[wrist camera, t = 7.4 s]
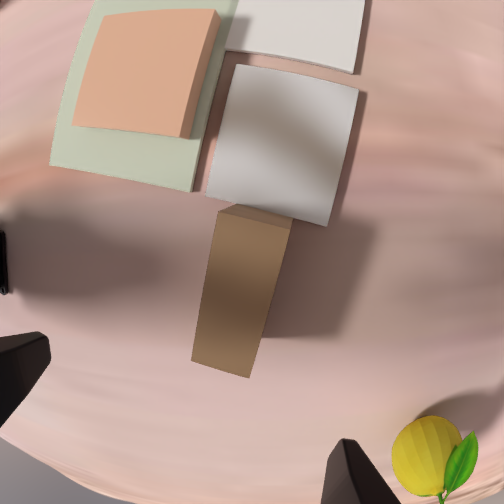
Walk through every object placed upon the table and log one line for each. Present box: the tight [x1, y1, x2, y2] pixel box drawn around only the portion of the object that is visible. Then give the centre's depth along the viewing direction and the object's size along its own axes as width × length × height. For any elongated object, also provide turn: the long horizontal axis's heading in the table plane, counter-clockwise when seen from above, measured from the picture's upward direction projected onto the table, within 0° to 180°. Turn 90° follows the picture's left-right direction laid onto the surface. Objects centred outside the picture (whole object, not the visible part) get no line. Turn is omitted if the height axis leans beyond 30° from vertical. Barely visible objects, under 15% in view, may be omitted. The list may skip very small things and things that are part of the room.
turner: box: [191, 64, 359, 378], centre depth 15 cm, size 16×7×4 cm, turn 167°
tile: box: [71, 9, 221, 140], centre depth 15 cm, size 8×2×8 cm
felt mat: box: [49, 0, 239, 192], centre depth 16 cm, size 14×12×1 cm
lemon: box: [392, 415, 478, 504], centre depth 15 cm, size 7×6×10 cm
